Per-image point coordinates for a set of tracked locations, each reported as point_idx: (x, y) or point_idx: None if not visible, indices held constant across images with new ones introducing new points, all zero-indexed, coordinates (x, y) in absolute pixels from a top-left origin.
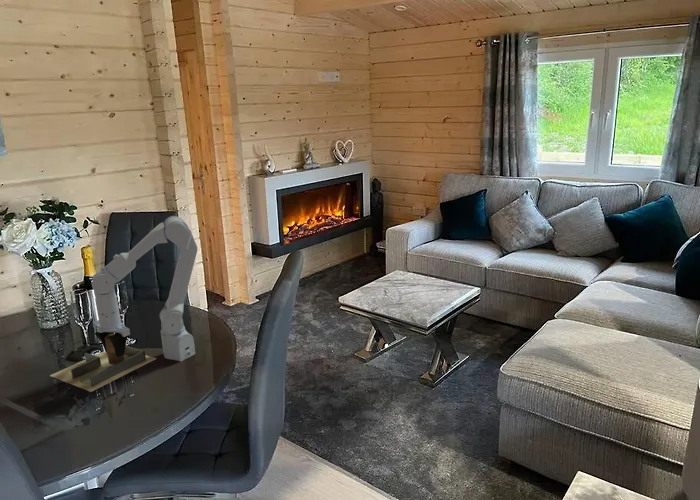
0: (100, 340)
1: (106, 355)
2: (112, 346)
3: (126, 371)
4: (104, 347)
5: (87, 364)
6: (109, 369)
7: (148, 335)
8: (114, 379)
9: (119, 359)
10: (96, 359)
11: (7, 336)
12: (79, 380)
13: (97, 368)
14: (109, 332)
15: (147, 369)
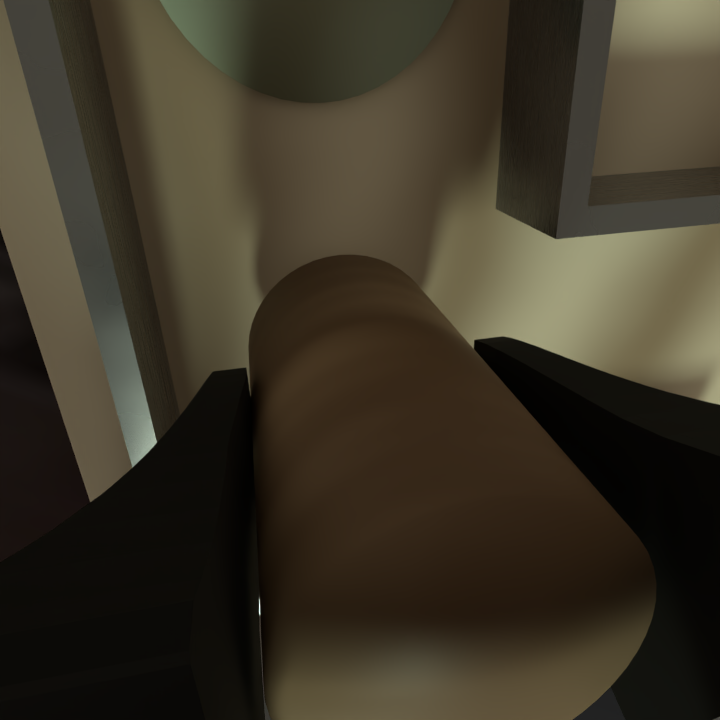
0: (711, 411)
1: (646, 372)
2: (296, 443)
3: (82, 303)
4: (555, 363)
5: (567, 2)
6: (39, 90)
7: (612, 690)
8: None
9: (251, 366)
10: (556, 179)
11: None
12: None
13: (490, 146)
14: (686, 699)
15: (32, 468)
